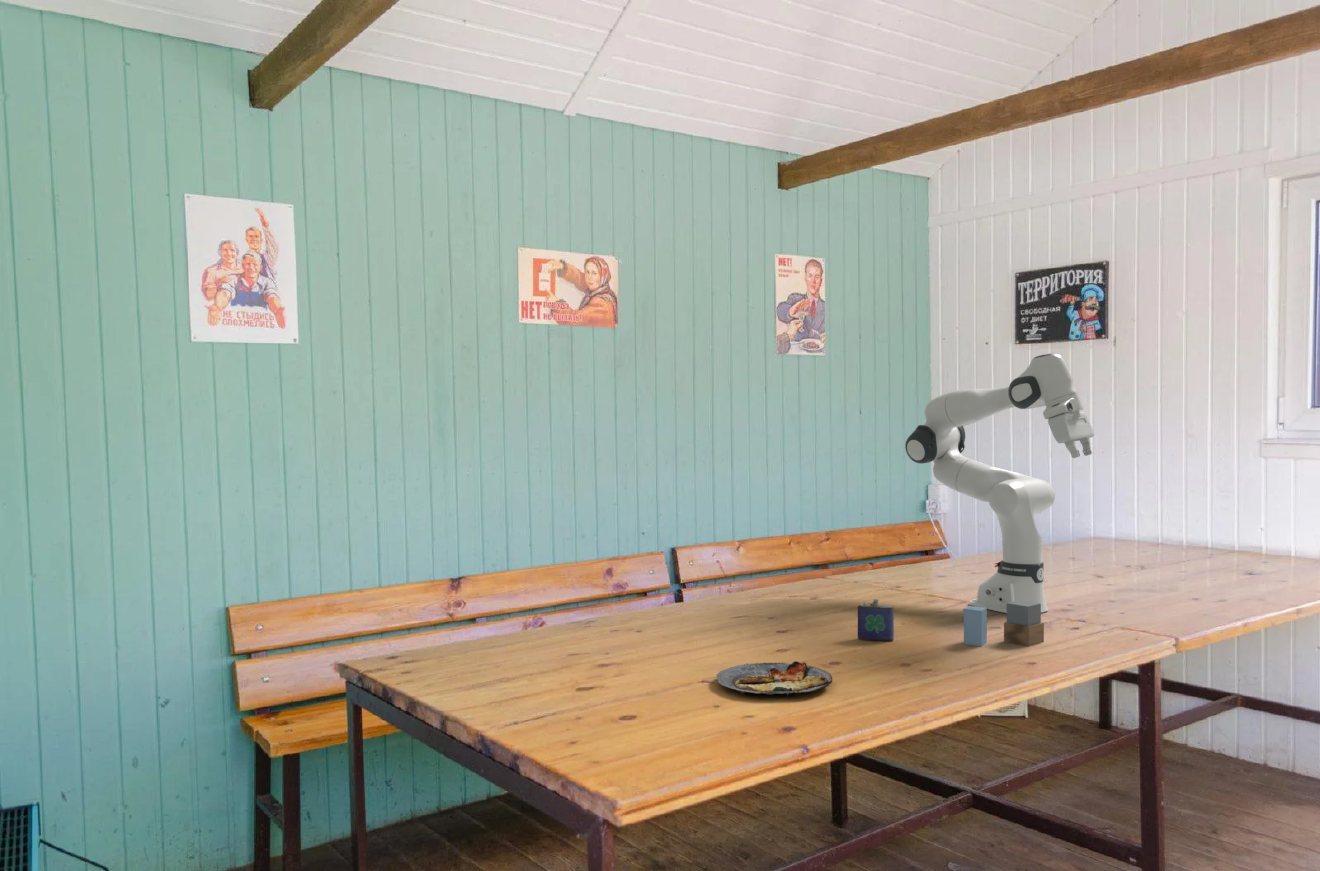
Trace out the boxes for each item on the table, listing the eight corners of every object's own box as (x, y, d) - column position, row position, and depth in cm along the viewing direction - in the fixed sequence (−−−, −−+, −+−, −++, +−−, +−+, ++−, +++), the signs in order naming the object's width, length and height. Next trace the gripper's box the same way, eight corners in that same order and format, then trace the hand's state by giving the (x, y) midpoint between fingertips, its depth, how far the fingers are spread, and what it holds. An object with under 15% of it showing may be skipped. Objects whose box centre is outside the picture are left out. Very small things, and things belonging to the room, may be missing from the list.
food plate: (821, 669, 223) (820, 654, 223) (843, 700, 200) (843, 683, 200) (712, 674, 222) (712, 658, 222) (722, 705, 199) (722, 688, 199)
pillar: (963, 644, 247) (963, 608, 247) (968, 640, 251) (968, 605, 250) (981, 646, 244) (981, 610, 244) (986, 642, 248) (986, 607, 248)
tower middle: (1006, 622, 249) (1006, 603, 249) (1019, 619, 253) (1019, 600, 253) (1028, 626, 245) (1027, 606, 245) (1040, 622, 248) (1040, 603, 248)
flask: (894, 639, 252) (893, 598, 252) (893, 642, 249) (893, 600, 249) (857, 637, 255) (857, 597, 254) (857, 640, 252) (856, 599, 252)
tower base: (1003, 641, 250) (1003, 622, 249) (1018, 637, 254) (1018, 618, 254) (1029, 646, 244) (1029, 626, 244) (1043, 642, 248) (1043, 622, 248)
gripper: (1067, 411, 277) (1084, 457, 274) (1040, 413, 262) (1058, 462, 259) (1089, 403, 273) (1106, 450, 270) (1062, 405, 258) (1081, 455, 255)
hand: (1082, 456), depth 265 cm, fingers open, 8 cm apart
